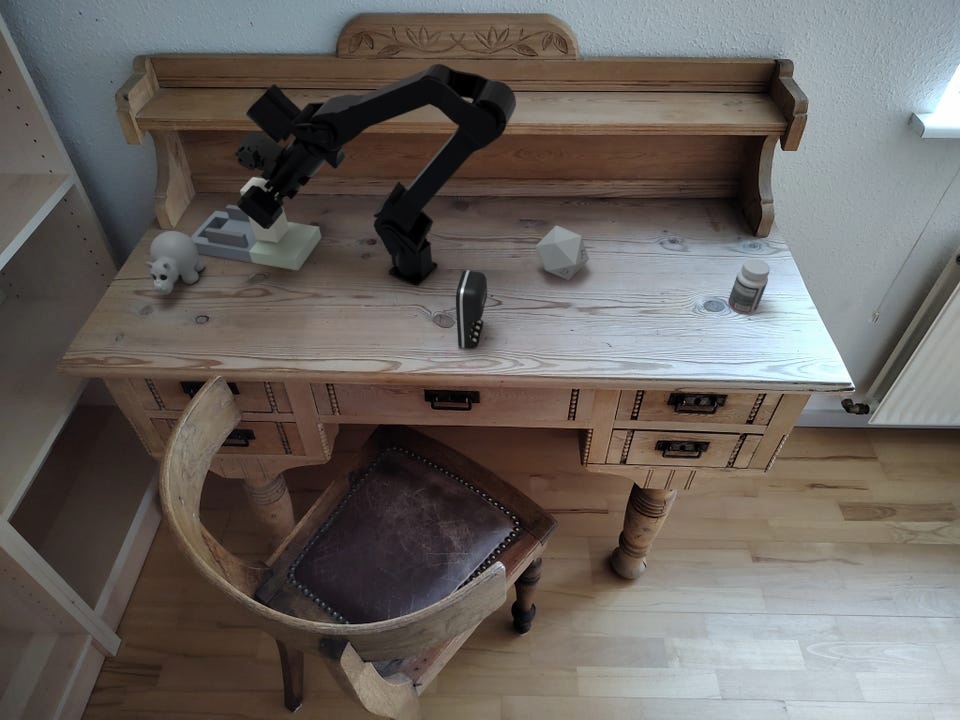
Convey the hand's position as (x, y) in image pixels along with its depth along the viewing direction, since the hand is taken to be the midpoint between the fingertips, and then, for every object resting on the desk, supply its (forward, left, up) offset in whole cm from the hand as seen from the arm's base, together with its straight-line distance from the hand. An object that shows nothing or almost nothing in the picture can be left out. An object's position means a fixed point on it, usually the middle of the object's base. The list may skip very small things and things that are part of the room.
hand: (258, 209), depth 117 cm
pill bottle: (-79, -31, -8) cm, 85 cm away
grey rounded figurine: (+6, +16, -9) cm, 19 cm away
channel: (+2, +1, -8) cm, 9 cm away
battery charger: (-45, -1, -8) cm, 46 cm away
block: (-1, 0, -5) cm, 5 cm away
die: (-49, -23, -9) cm, 54 cm away
